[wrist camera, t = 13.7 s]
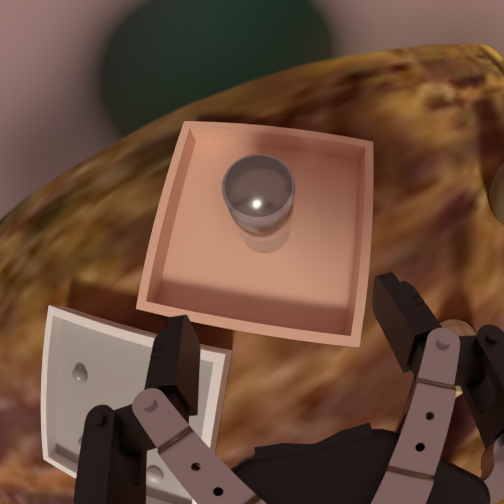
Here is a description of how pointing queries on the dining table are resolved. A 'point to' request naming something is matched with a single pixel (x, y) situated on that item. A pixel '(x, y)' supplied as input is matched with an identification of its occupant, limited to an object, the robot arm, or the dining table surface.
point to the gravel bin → (114, 390)
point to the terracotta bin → (264, 264)
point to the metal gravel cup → (260, 200)
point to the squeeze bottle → (498, 194)
